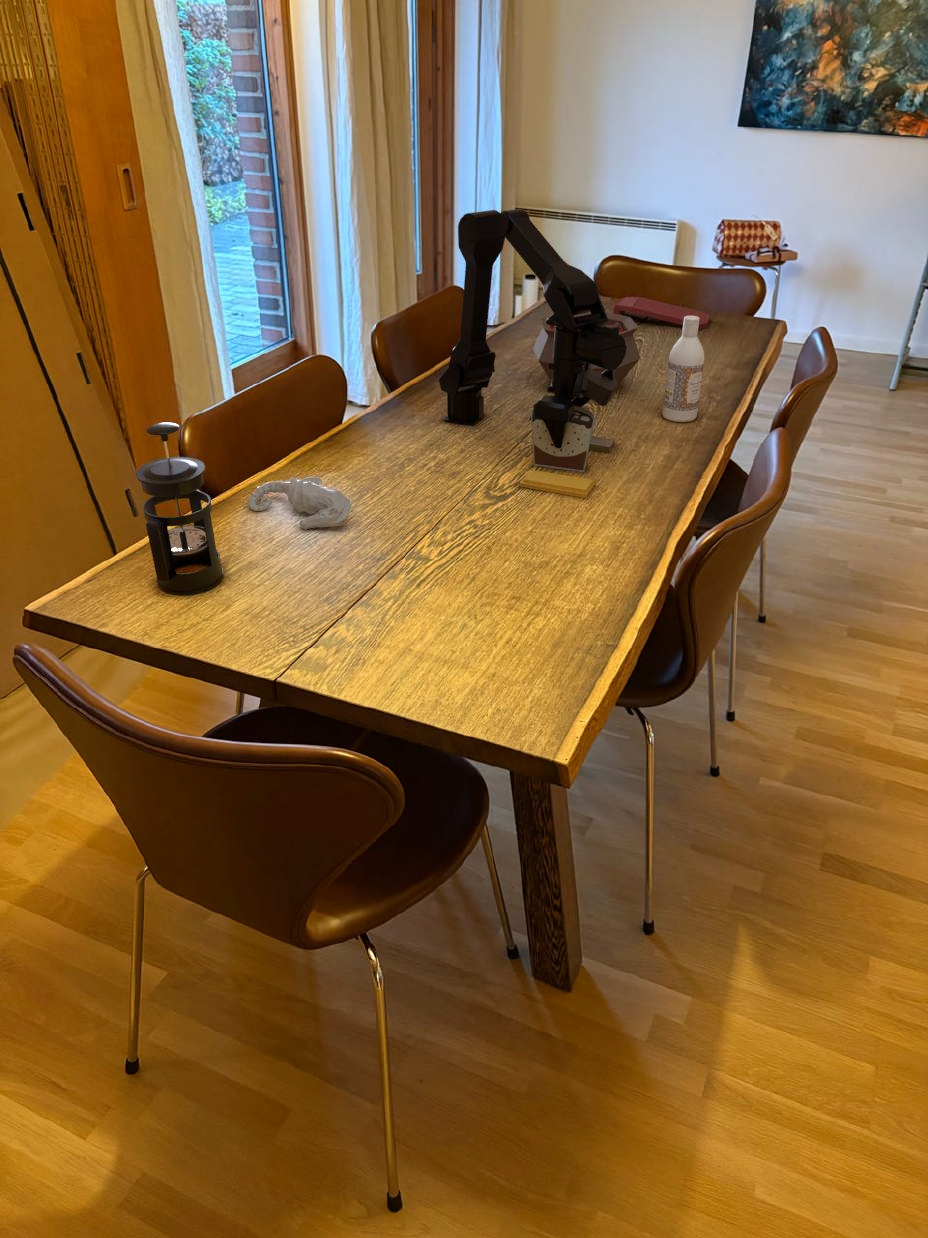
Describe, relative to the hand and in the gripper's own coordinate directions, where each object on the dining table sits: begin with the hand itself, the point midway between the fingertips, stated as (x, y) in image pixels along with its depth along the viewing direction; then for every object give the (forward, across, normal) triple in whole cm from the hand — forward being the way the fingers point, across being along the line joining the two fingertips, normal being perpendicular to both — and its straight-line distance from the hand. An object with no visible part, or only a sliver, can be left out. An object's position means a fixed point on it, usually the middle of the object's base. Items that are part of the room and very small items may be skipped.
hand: (563, 441), depth 165 cm
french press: (+5, -62, +35) cm, 72 cm away
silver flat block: (+4, +10, -2) cm, 11 cm away
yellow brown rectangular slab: (+4, -10, -2) cm, 12 cm away
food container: (+4, 0, 0) cm, 4 cm away
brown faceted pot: (+4, +44, +10) cm, 45 cm away
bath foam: (+4, +32, -14) cm, 35 cm away
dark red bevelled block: (+4, +105, +7) cm, 105 cm away
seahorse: (+4, -37, +32) cm, 50 cm away
